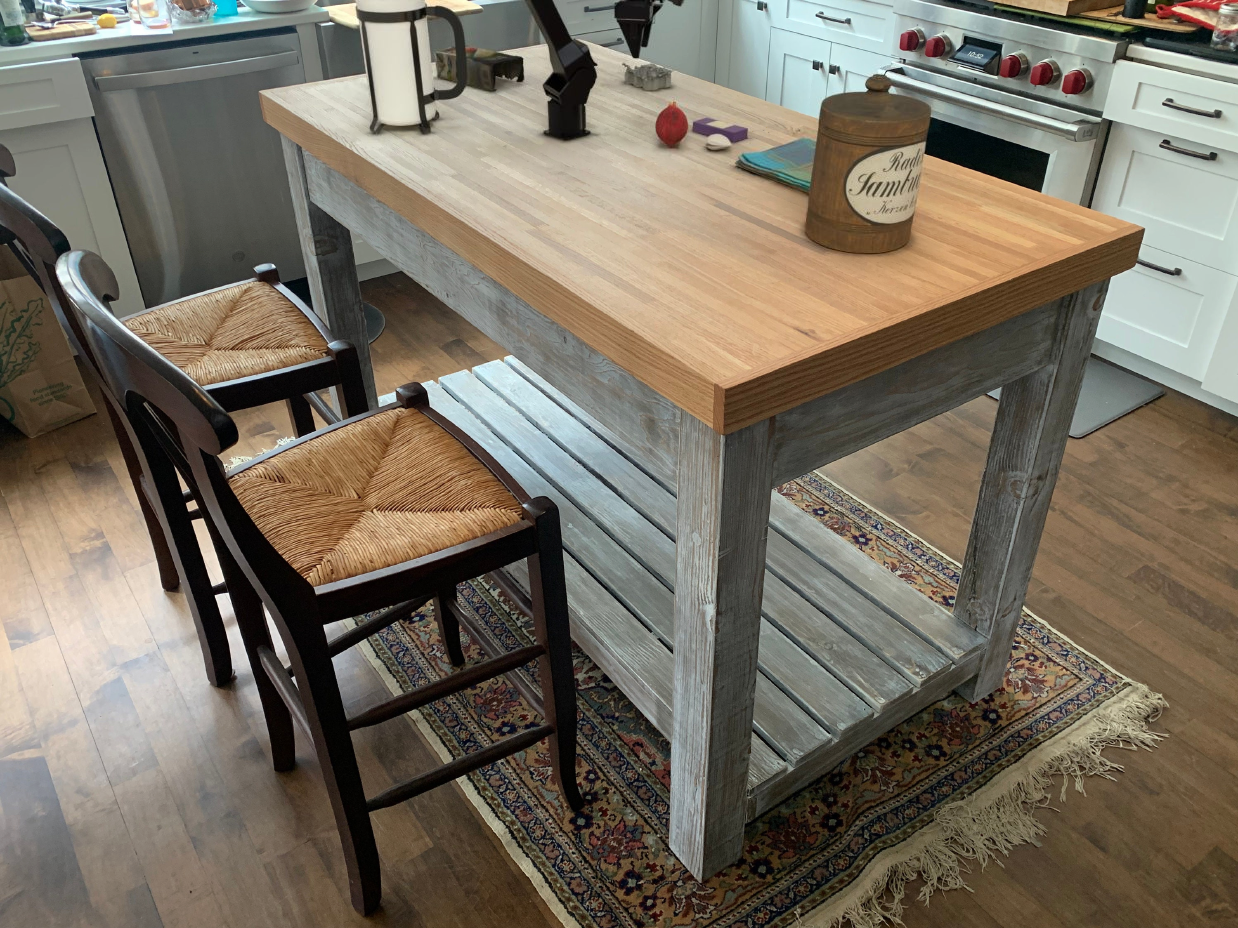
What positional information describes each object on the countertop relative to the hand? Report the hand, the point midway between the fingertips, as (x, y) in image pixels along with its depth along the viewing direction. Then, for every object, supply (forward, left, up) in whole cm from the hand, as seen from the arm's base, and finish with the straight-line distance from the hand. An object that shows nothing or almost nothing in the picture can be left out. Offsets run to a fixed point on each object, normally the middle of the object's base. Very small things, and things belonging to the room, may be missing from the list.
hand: (640, 52), depth 180 cm
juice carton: (-1, +48, -13) cm, 50 cm away
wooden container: (-17, -61, -13) cm, 65 cm away
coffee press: (-31, +30, -13) cm, 45 cm away
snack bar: (+6, -15, -13) cm, 21 cm away
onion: (-6, -14, -13) cm, 20 cm away
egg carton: (+23, +20, -13) cm, 33 cm away
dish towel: (0, -42, -13) cm, 44 cm away
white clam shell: (-1, -21, -13) cm, 25 cm away
